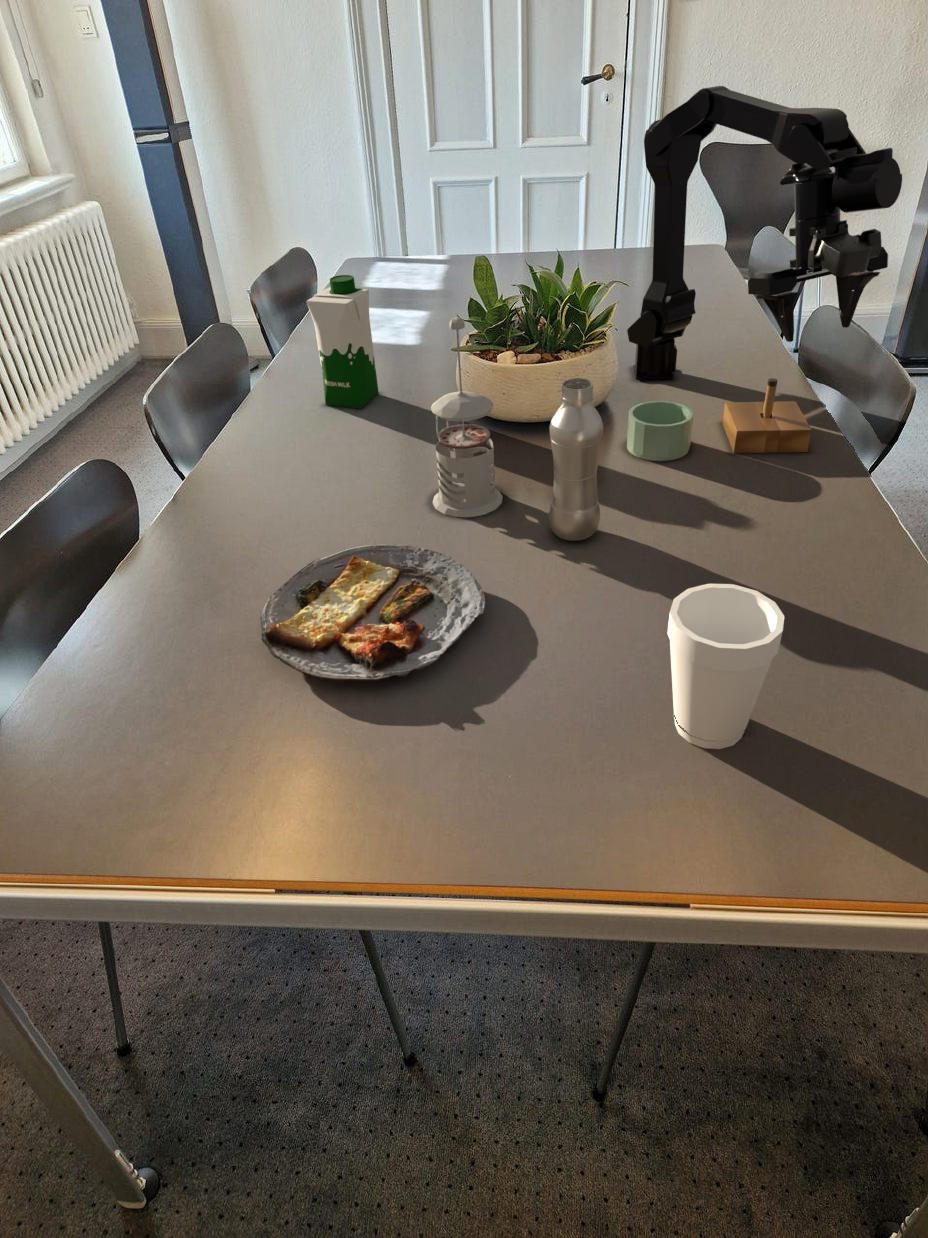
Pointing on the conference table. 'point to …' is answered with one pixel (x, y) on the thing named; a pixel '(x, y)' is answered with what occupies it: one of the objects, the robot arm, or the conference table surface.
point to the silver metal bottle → (575, 462)
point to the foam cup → (720, 659)
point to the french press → (464, 452)
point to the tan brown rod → (769, 397)
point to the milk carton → (345, 343)
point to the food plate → (371, 613)
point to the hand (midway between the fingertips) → (817, 334)
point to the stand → (766, 427)
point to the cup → (659, 430)
